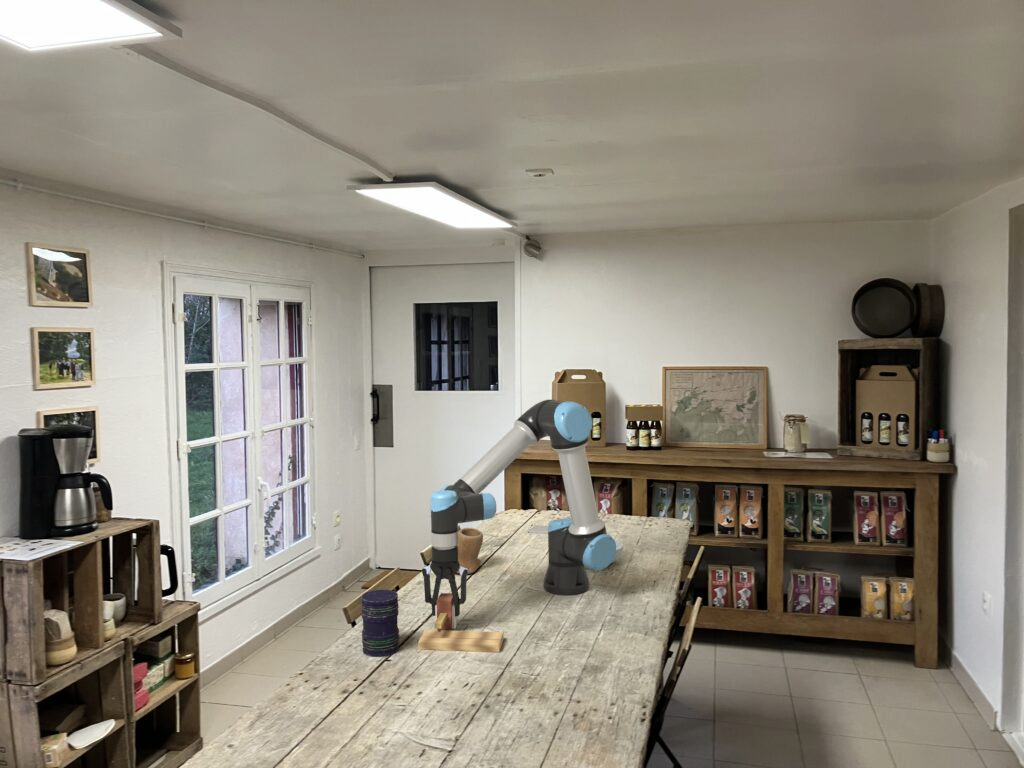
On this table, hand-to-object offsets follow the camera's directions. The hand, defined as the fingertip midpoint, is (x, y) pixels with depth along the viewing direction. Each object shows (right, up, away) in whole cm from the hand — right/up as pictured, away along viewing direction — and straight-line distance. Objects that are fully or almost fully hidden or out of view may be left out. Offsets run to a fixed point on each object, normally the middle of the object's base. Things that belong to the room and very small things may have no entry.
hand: (446, 626), depth 226 cm
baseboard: (+42, +5, +110) cm, 118 cm away
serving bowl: (+49, +3, +67) cm, 83 cm away
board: (+5, -2, -9) cm, 10 cm away
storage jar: (-17, -3, -12) cm, 21 cm away
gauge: (0, -1, -4) cm, 4 cm away
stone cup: (+3, +2, +59) cm, 59 cm away
